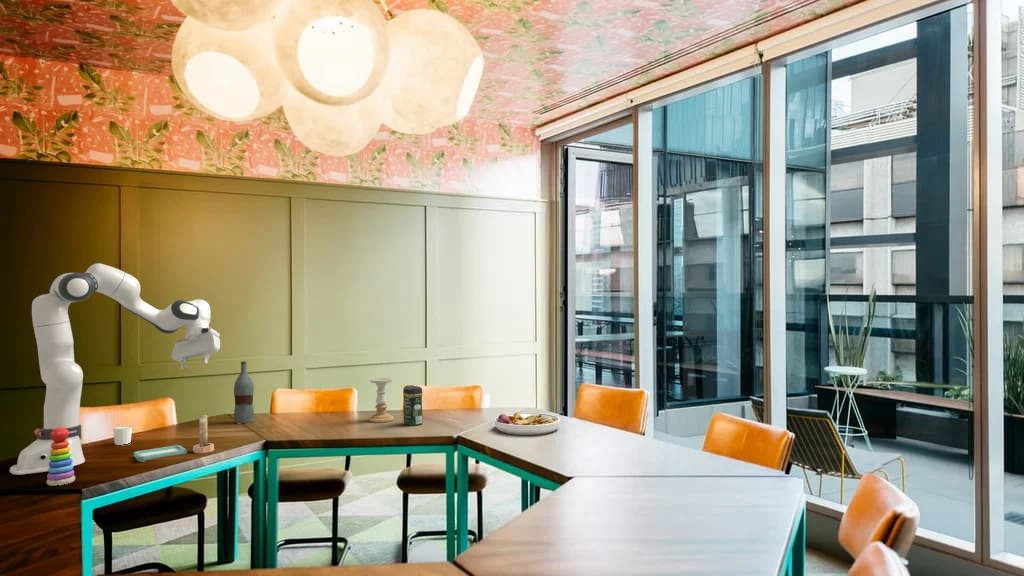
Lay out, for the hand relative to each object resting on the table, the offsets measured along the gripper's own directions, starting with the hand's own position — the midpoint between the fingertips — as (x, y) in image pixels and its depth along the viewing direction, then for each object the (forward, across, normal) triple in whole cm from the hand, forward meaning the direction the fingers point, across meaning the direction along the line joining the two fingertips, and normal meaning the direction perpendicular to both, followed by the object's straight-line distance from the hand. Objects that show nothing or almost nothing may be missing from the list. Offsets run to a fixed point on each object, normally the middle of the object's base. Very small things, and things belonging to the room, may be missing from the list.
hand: (194, 365), depth 264 cm
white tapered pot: (+21, -42, +14) cm, 49 cm away
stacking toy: (+50, -21, -32) cm, 63 cm away
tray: (+35, -12, +1) cm, 37 cm away
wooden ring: (+35, +2, +9) cm, 36 cm away
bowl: (+35, +122, +71) cm, 145 cm away
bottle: (+5, -15, +59) cm, 61 cm away
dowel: (+34, +2, +8) cm, 35 cm away
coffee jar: (+20, +68, +71) cm, 100 cm away
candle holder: (+13, +50, +76) cm, 91 cm away
